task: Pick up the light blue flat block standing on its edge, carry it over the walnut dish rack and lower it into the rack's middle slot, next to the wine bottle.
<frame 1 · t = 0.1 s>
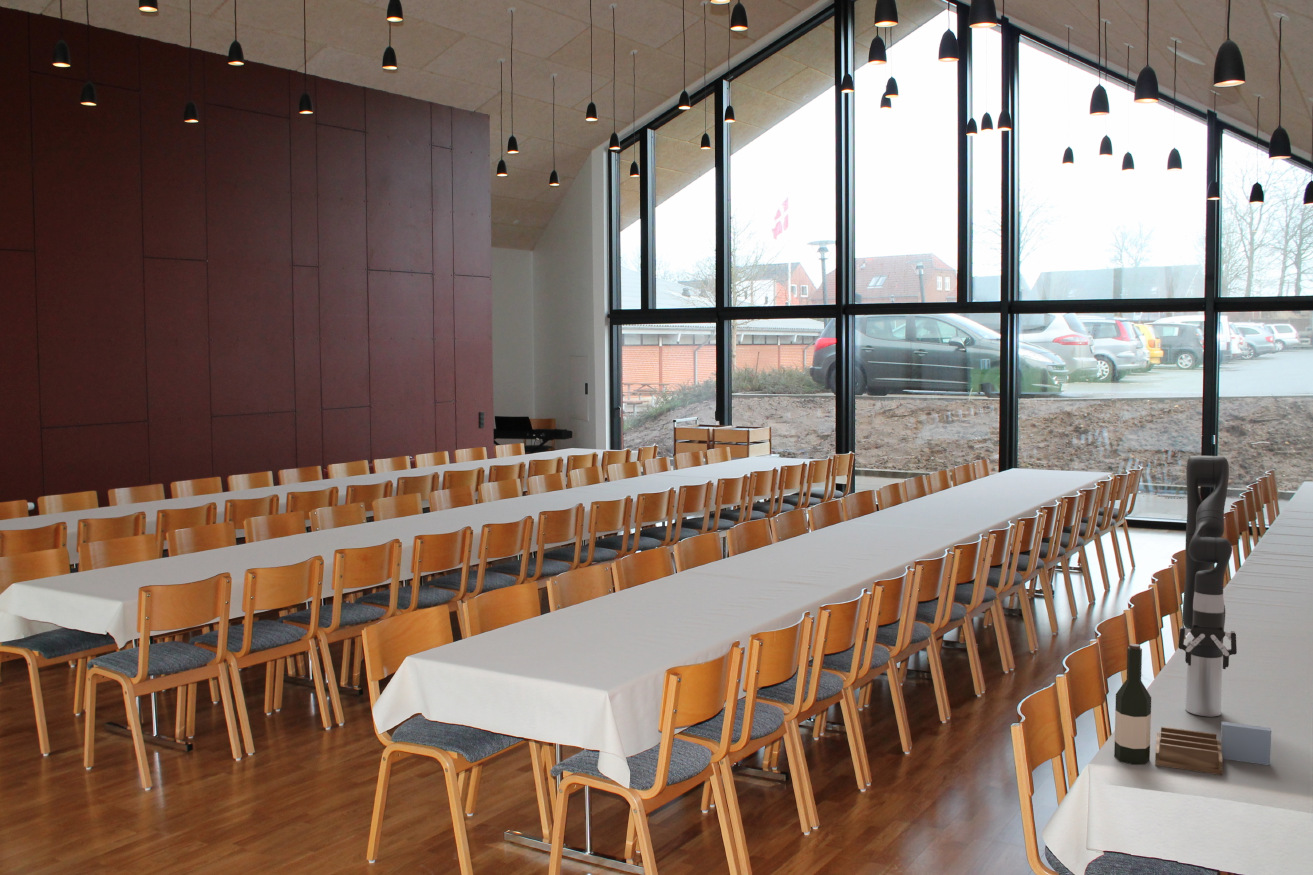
hand: (1206, 666, 291), 17 cm above the table, tool pointing down, fingers open, 8 cm apart
rack: (1188, 758, 270), on the table
light blue flat block: (1244, 760, 269), on the table
wine bottle: (1131, 759, 271), on the table
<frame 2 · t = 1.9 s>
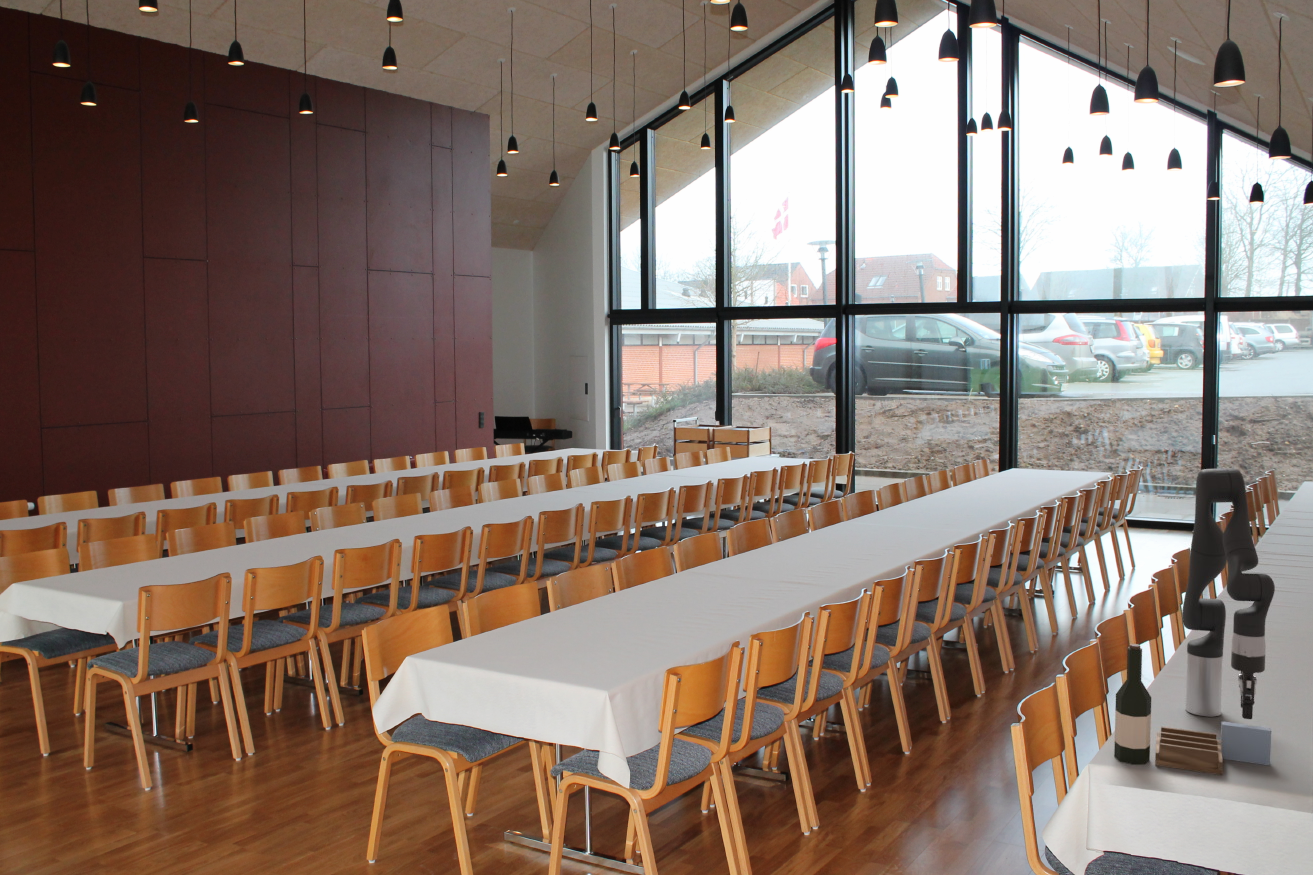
hand: (1246, 713, 268), 12 cm above the table, tool pointing down, fingers open, 8 cm apart
nothing on the table moved.
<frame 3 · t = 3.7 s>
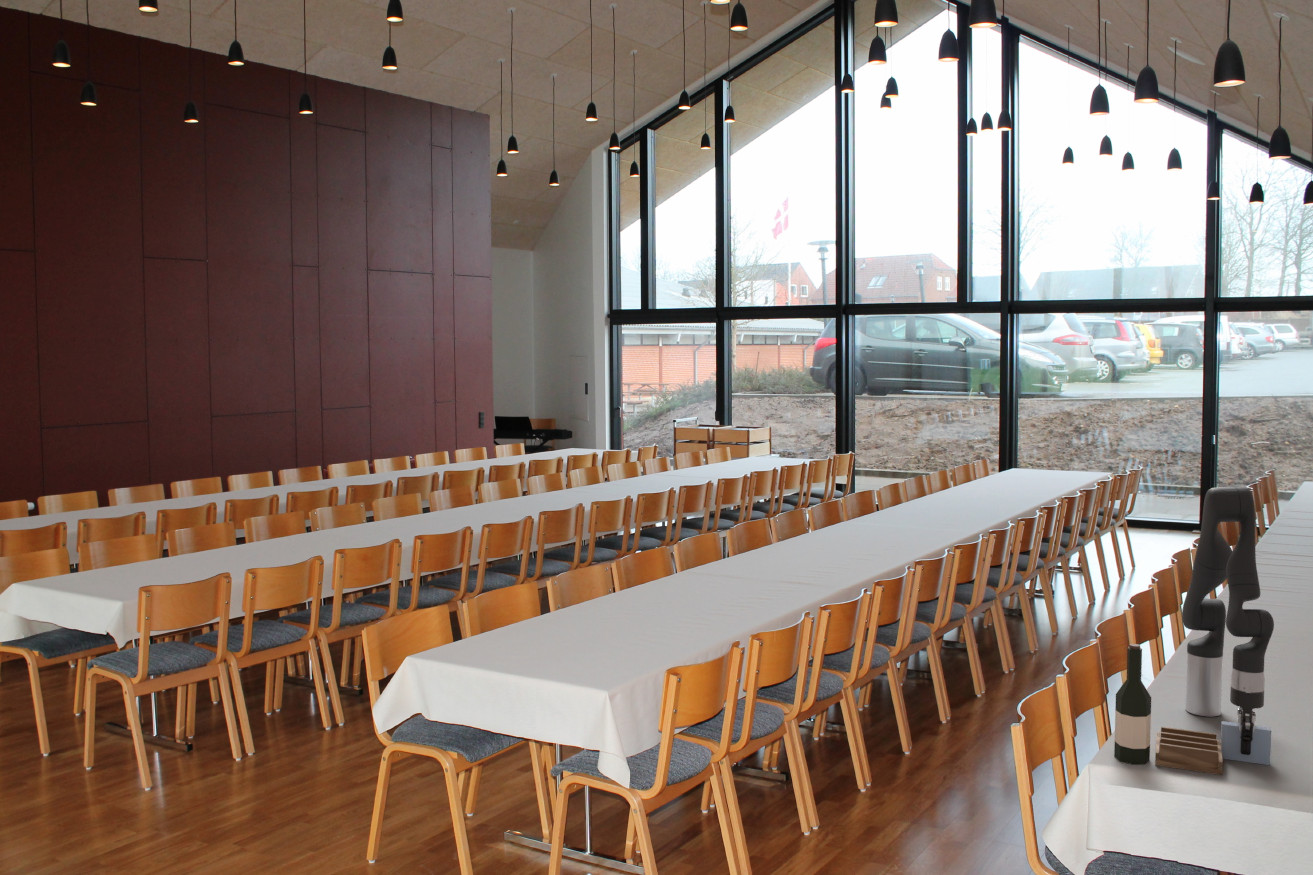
hand: (1245, 751, 269), 2 cm above the table, tool pointing down, fingers closed on light blue flat block, 2 cm apart
light blue flat block: (1244, 759, 269), on the table, touching gripper
everything else where it was.
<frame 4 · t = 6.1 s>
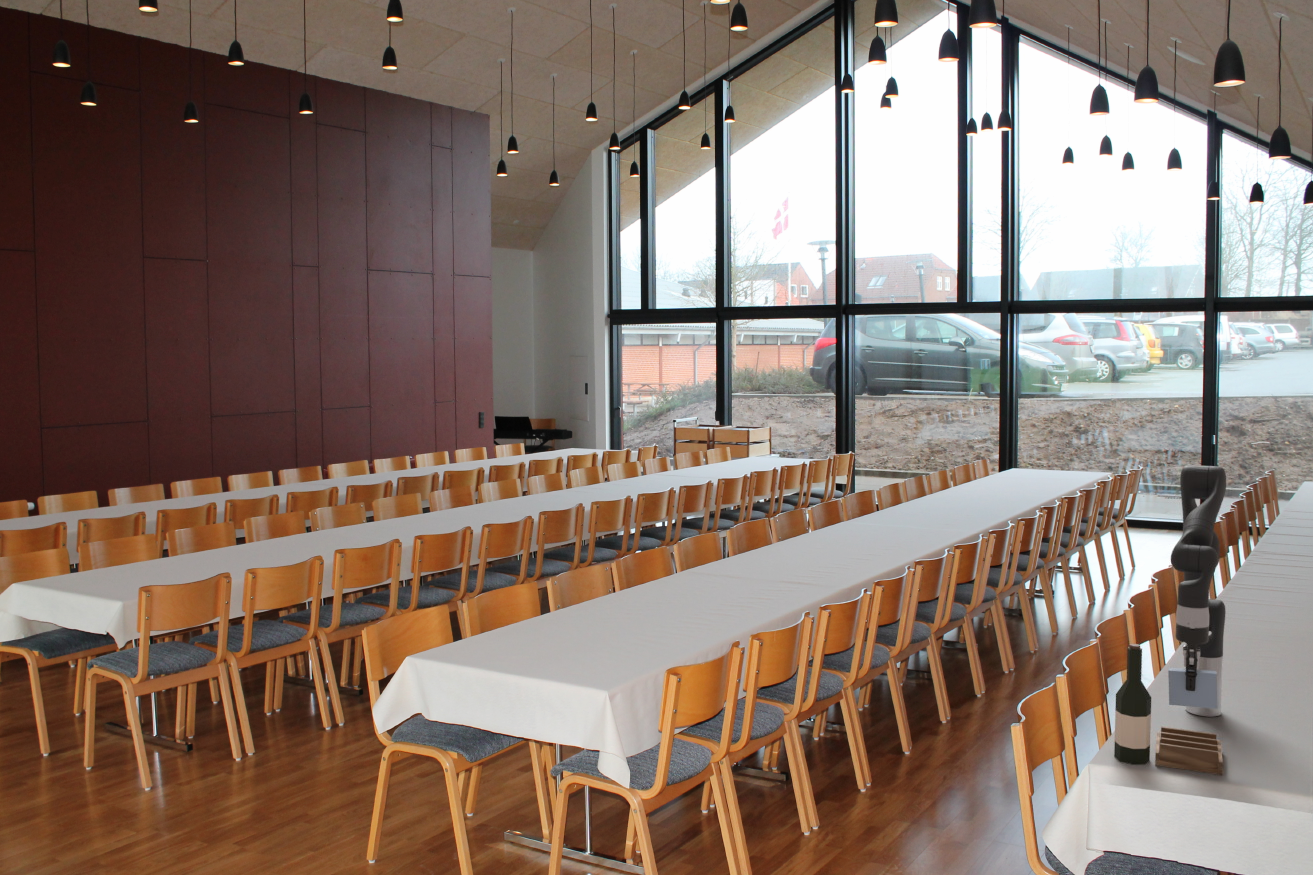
hand: (1190, 688, 269), 19 cm above the table, tool pointing down, fingers closed on light blue flat block, 2 cm apart
light blue flat block: (1193, 705, 269), point 14 cm above the table, touching gripper
everything else where it was.
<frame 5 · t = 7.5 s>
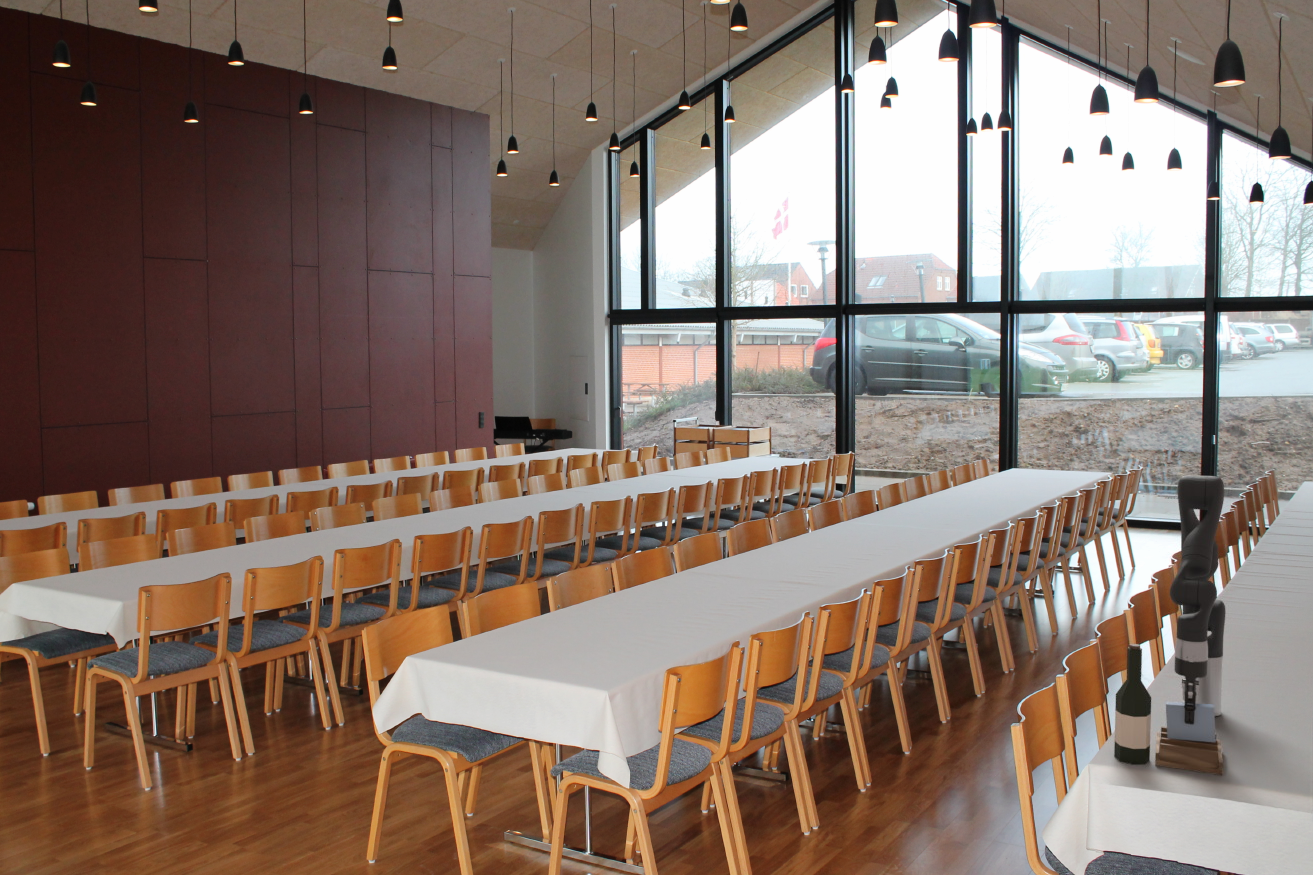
hand: (1189, 721, 270), 10 cm above the table, tool pointing down, fingers closed on light blue flat block, 2 cm apart
light blue flat block: (1191, 738, 270), point 5 cm above the table, touching gripper
everything else where it was.
when the fingers open (6 cm above the table, at t = 8.5 s): light blue flat block stays where it is, resting on rack.
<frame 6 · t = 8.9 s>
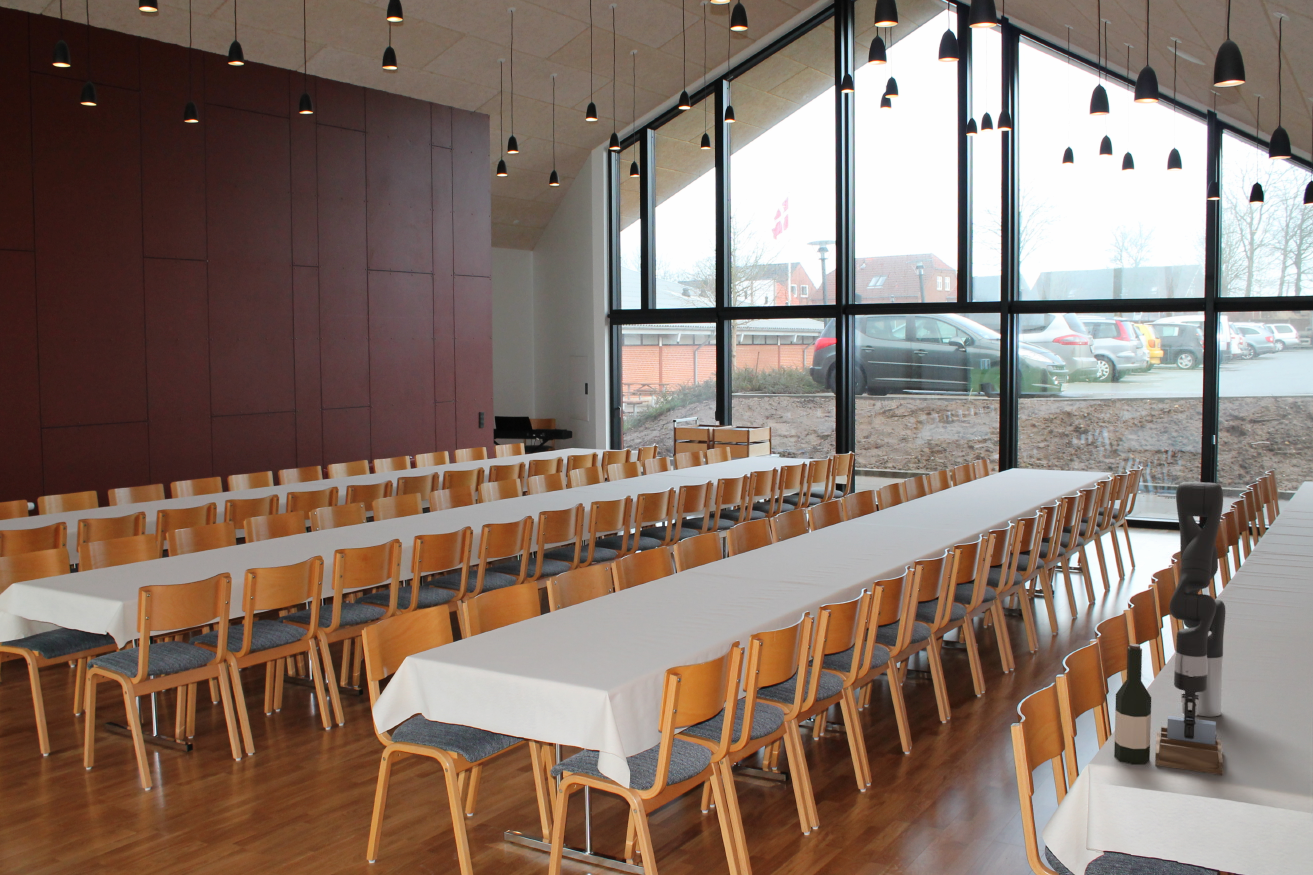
hand: (1188, 733, 270), 7 cm above the table, tool pointing down, fingers open, 6 cm apart
light blue flat block: (1190, 754, 270), point 1 cm above the table, touching rack
everything else where it was.
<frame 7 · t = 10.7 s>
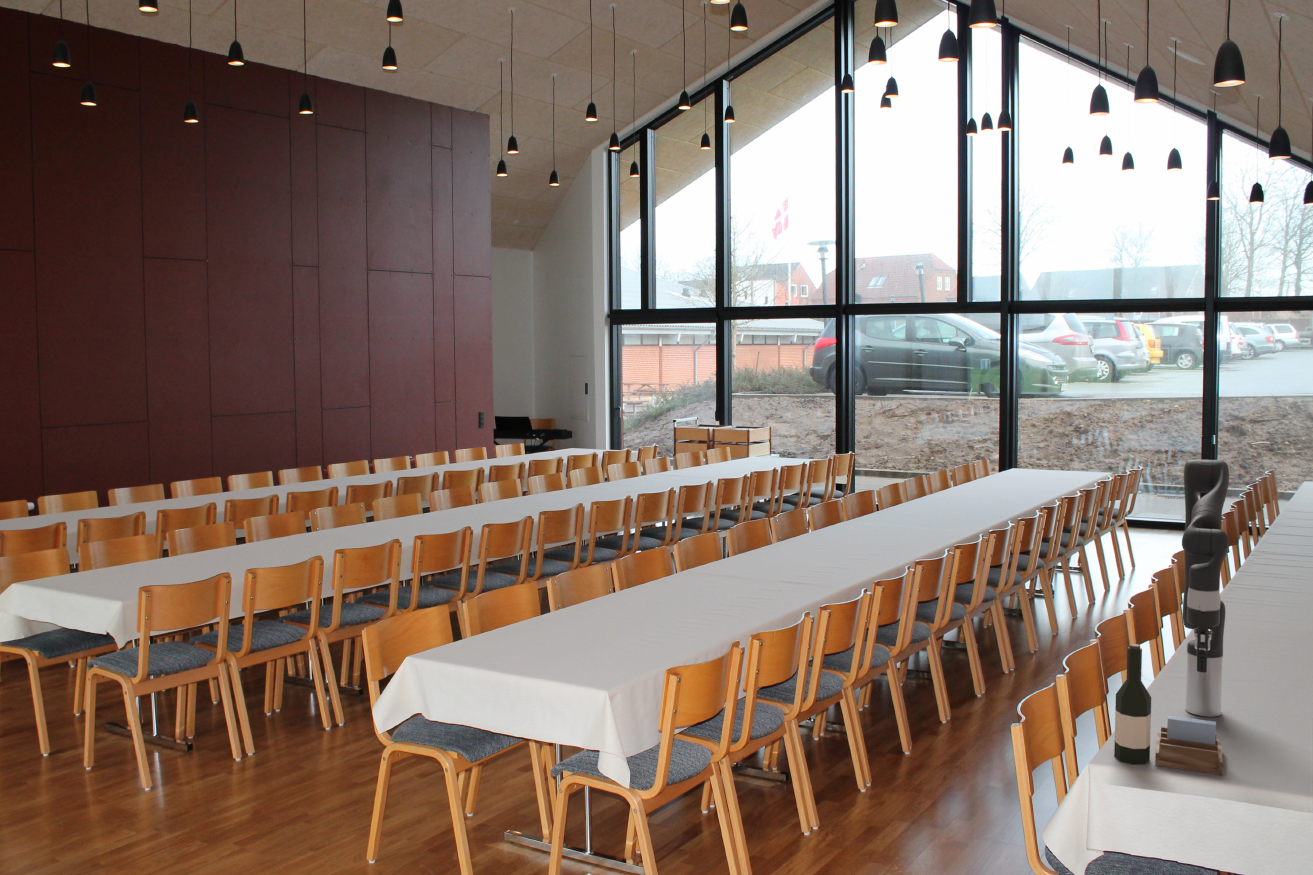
hand: (1201, 666, 270), 24 cm above the table, tool pointing down, fingers open, 8 cm apart
nothing on the table moved.
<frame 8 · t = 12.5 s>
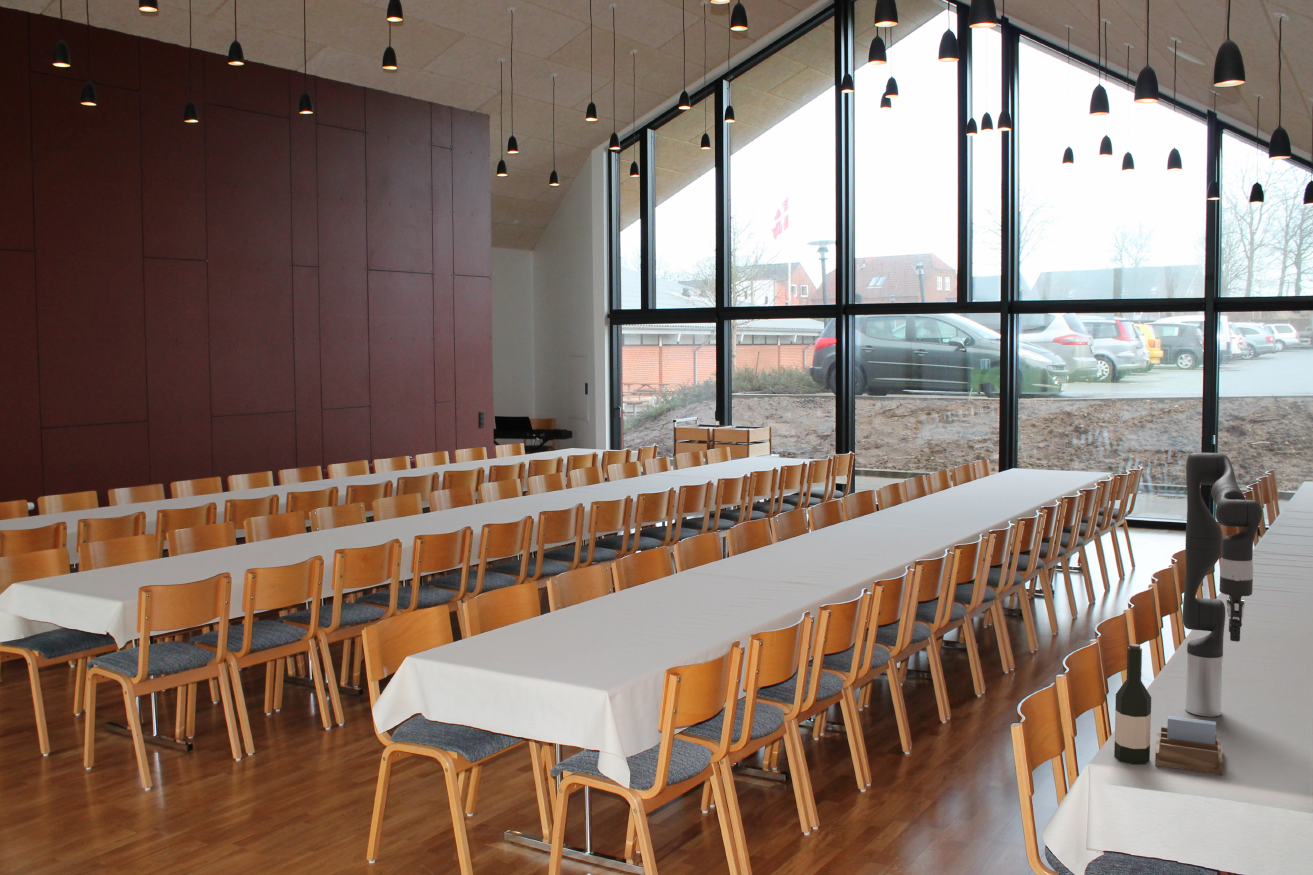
hand: (1234, 636, 274), 30 cm above the table, tool pointing down, fingers open, 8 cm apart
nothing on the table moved.
at the end: light blue flat block 0.5 cm off-centre on the rack, point 1.2 cm above the rack's base; light blue flat block tilted 0°; the gripper is holding nothing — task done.
